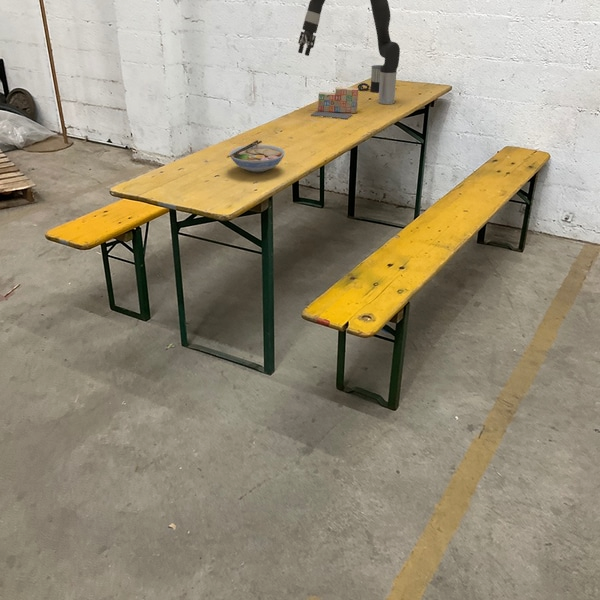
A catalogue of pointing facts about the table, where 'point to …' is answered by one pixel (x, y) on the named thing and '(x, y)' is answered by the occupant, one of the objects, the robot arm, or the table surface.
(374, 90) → the milk frother
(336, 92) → the stack of blocks
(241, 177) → the table surface
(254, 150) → the ramen bowl
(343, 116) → the charcoal rubber mat
